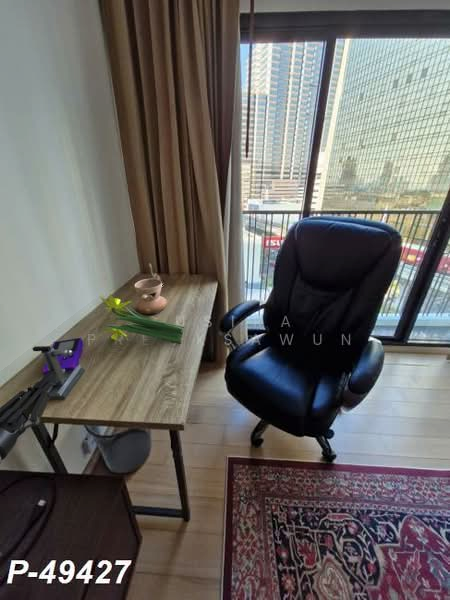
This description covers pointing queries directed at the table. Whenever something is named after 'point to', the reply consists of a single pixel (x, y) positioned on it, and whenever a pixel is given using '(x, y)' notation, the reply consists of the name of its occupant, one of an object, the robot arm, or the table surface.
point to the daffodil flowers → (141, 324)
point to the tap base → (66, 384)
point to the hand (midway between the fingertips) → (52, 374)
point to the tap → (54, 362)
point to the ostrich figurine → (152, 274)
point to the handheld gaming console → (71, 360)
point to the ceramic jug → (150, 296)
